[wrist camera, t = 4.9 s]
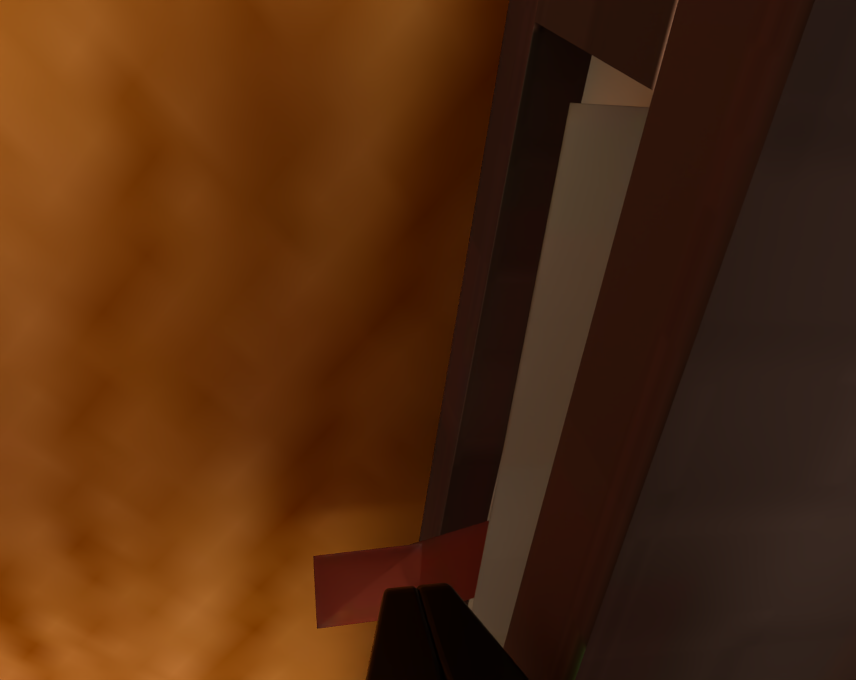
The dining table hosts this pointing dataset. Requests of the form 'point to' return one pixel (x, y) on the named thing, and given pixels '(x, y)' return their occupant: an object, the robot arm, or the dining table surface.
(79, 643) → the dining table surface
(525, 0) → the decorative book
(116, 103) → the dining table surface
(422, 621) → the robot arm
